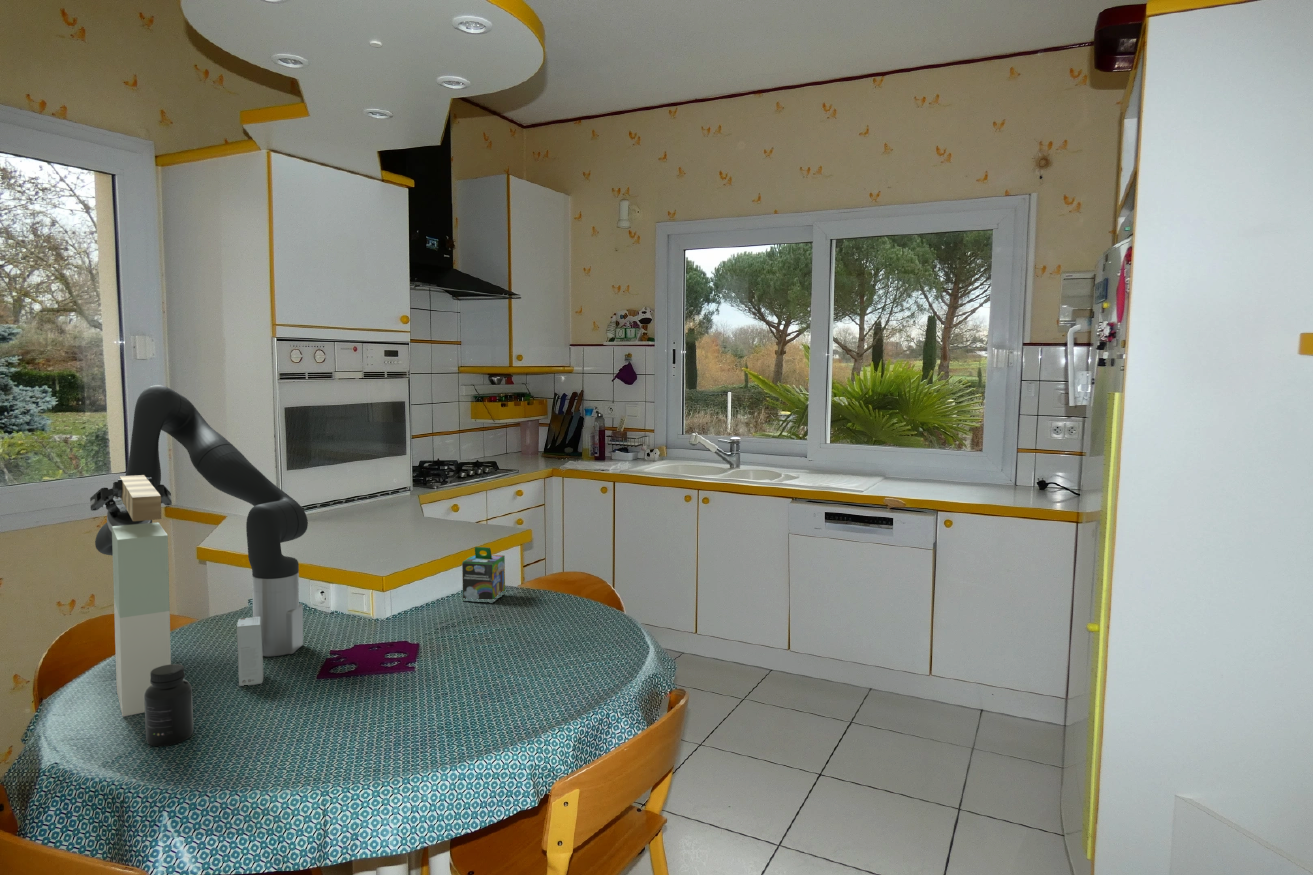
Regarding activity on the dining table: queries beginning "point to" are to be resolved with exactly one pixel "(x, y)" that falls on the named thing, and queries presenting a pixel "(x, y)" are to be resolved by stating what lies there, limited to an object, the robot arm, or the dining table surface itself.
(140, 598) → the tower
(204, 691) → the dining table surface
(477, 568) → the chalk box
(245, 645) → the skincare box
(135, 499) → the beam
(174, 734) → the supplement bottle
